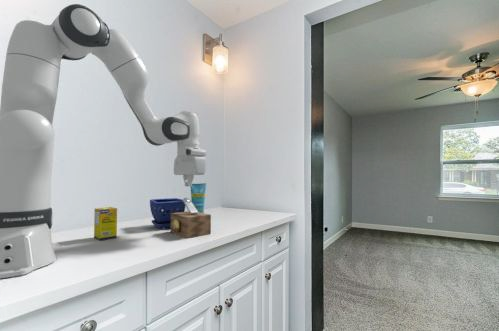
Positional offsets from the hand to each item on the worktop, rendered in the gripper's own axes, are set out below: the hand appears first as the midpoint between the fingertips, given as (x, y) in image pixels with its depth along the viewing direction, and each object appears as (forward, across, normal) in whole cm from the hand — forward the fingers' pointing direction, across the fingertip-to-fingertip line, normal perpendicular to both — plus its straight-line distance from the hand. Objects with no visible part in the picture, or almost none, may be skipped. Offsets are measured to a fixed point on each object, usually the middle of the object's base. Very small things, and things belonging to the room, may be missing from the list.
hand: (188, 186), depth 103 cm
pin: (+17, +2, 0) cm, 17 cm away
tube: (+19, -9, +10) cm, 23 cm away
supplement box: (+19, -12, -27) cm, 35 cm away
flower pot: (+19, -17, -1) cm, 25 cm away
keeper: (+8, +1, 0) cm, 8 cm away
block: (+18, +2, 0) cm, 19 cm away
